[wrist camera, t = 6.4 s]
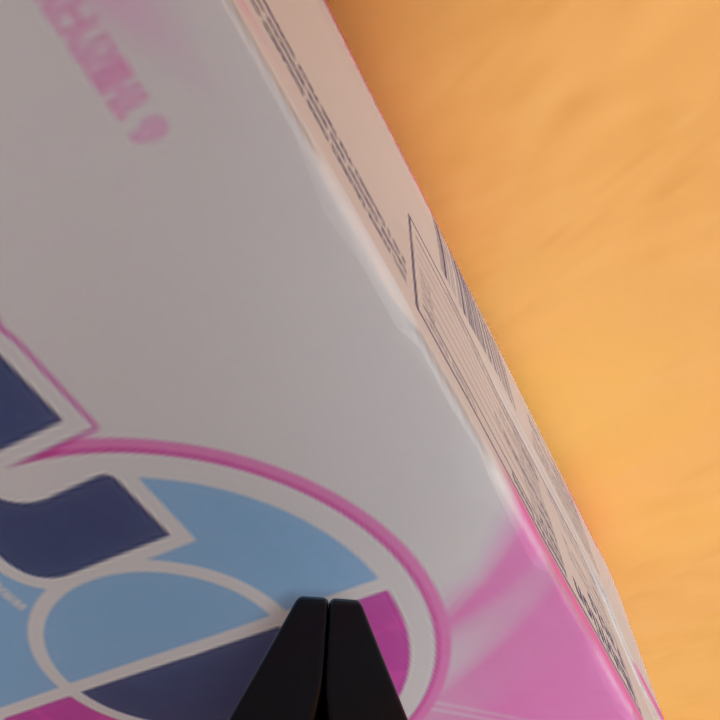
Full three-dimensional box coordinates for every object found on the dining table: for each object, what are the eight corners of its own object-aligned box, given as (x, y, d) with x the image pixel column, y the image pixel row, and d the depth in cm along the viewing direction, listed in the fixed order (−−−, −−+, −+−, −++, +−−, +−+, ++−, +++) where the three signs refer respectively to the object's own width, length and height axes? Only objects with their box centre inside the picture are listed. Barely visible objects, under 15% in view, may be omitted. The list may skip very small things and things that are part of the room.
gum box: (736, 888, 15) (223, 973, 18) (624, 589, 21) (265, 696, 25) (-232, -838, 4) (-1020, 255, 7) (166, -334, 10) (-352, 103, 14)
